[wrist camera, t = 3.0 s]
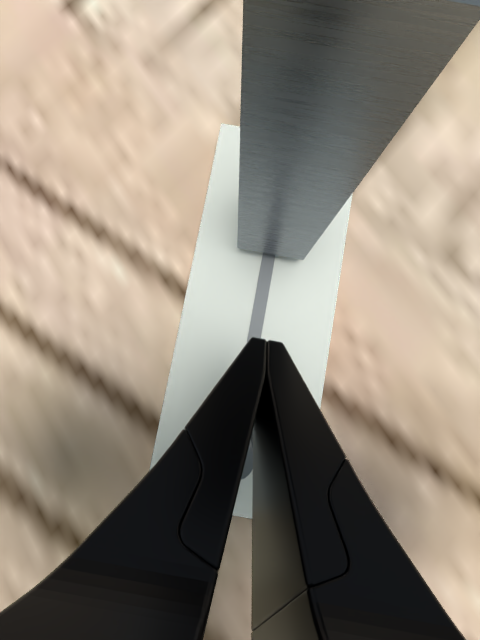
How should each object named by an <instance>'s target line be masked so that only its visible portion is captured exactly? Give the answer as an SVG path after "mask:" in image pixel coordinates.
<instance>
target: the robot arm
mask: <svg viewBox="0 0 480 640" xmlns="http://www.w3.org/2000/svg"><path fill="white" fill-rule="evenodd" d="M252 432H253V489H252V631H253V632H252V633H251V640H466V639H465V637H464V636H463V635H462V634H461V632H460V631H459V630H458V628H457V627H456V626H455V624H454V623H453V622H452V620H451V619H450V617H449V616H448V614H447V613H446V612H445V610H444V609H443V607H442V606H441V604H440V603H439V601H438V600H437V598H436V597H435V595H434V594H433V592H432V591H431V589H430V588H429V586H428V585H427V584H426V582H425V581H424V579H423V578H422V576H421V575H420V573H419V572H418V570H417V569H416V567H415V566H414V564H413V563H412V561H411V560H410V558H409V557H408V555H407V554H406V552H405V551H404V549H403V548H402V547H401V545H400V544H399V542H398V541H397V539H396V538H395V536H394V535H393V533H392V532H391V530H390V529H389V527H388V526H387V524H386V522H385V521H384V519H383V518H382V516H381V515H380V513H379V512H378V510H377V509H376V507H375V505H374V504H373V502H372V501H371V499H370V497H369V496H368V494H367V492H366V490H365V489H364V487H363V485H362V484H361V482H360V480H359V479H358V477H357V475H356V473H355V471H354V470H353V468H352V466H351V464H350V462H349V461H348V460H347V459H345V458H346V455H345V454H344V452H343V450H342V448H341V446H340V445H339V443H338V441H337V439H336V437H335V436H334V434H333V432H332V430H331V428H330V427H329V425H328V423H327V421H326V419H325V418H324V416H323V414H322V412H321V410H320V409H319V407H318V405H317V403H316V401H315V400H314V398H313V396H312V394H311V392H310V391H309V389H308V387H307V385H306V383H305V382H304V380H303V378H302V376H301V374H300V373H299V371H298V369H297V367H296V365H295V364H294V362H293V360H292V358H291V356H290V355H289V353H288V351H287V349H286V347H285V345H284V344H283V343H282V342H278V341H273V340H268V341H266V340H265V339H262V338H257V337H251V338H250V339H249V341H248V342H247V343H246V345H245V346H244V347H243V349H242V350H241V351H240V353H239V354H238V356H237V357H236V358H235V360H234V361H233V362H232V364H231V365H230V366H229V368H228V369H227V370H226V372H225V373H224V374H223V376H222V377H221V378H220V380H219V381H218V383H217V384H216V385H215V387H214V388H213V389H212V391H211V392H210V393H209V395H208V396H207V397H206V399H205V400H204V401H203V403H202V404H201V405H200V407H199V408H198V410H197V411H196V412H195V414H194V415H193V416H192V418H191V419H190V420H189V422H188V423H187V424H186V426H185V429H183V430H182V431H181V432H180V433H179V435H178V436H177V438H176V439H175V440H174V442H173V443H172V444H171V445H170V447H169V448H168V449H167V450H166V452H165V453H164V454H163V455H162V457H161V458H160V459H159V461H158V462H157V463H156V464H155V465H154V466H153V468H152V469H151V470H150V471H149V472H148V473H147V474H146V475H145V476H144V478H143V479H142V480H141V481H140V482H139V483H138V484H137V485H136V486H135V488H134V489H133V490H132V491H131V492H130V493H129V494H128V495H127V496H126V497H125V498H124V499H123V500H122V501H121V502H120V503H119V504H118V505H117V507H116V508H115V509H114V510H113V511H112V512H111V513H110V514H109V515H108V516H107V517H106V518H105V519H104V520H103V521H102V522H101V523H100V525H99V526H98V527H97V528H96V529H95V530H94V531H93V532H92V533H91V534H90V535H89V536H88V537H87V538H86V539H85V540H84V541H83V542H82V544H81V545H80V546H79V547H78V548H77V549H76V550H75V551H74V552H73V553H72V554H71V555H70V556H69V557H68V558H67V559H66V560H64V561H63V562H62V563H61V564H60V565H59V566H58V567H57V568H56V569H55V570H54V571H53V572H51V573H50V574H49V575H48V576H47V577H46V578H45V579H44V580H42V581H41V582H40V583H39V584H37V585H36V586H35V587H34V588H33V589H31V590H30V591H29V592H27V593H26V594H25V595H23V596H22V597H21V598H19V599H18V600H16V601H15V602H14V603H12V604H11V605H10V606H8V607H7V608H6V609H4V610H3V611H1V612H0V640H203V637H204V633H205V628H206V624H207V619H208V615H209V611H210V606H211V602H212V598H213V593H214V589H215V585H216V581H217V577H218V571H219V568H220V564H221V560H222V556H223V552H224V548H225V543H226V539H227V535H228V531H229V527H230V523H231V519H232V514H233V510H234V506H235V502H236V498H237V494H238V490H239V485H240V481H241V477H242V473H243V469H244V465H245V461H246V456H247V452H248V448H249V444H250V440H251V436H252Z"/></svg>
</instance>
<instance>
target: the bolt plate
mask: <svg viewBox="0 0 480 640" xmlns="http://www.w3.org/2000/svg"><path fill="white" fill-rule="evenodd" d="M239 156H240V127H239V126H233V125H228V124H222V123H221V128H220V132H219V137H218V142H217V147H216V152H215V157H214V161H213V166H212V171H211V176H210V181H209V185H208V190H207V195H206V200H205V205H204V209H203V214H202V219H201V224H200V229H199V234H198V238H197V243H196V248H195V253H194V258H193V262H192V267H191V272H190V277H189V282H188V287H187V291H186V296H185V301H184V306H183V311H182V315H181V320H180V325H179V330H178V335H177V340H176V344H175V349H174V354H173V359H172V364H171V368H170V373H169V378H168V383H167V388H166V393H165V397H164V402H163V407H162V412H161V417H160V421H159V426H158V431H157V436H156V441H155V446H154V450H153V455H152V460H151V465H150V470H151V469H152V468H153V466H154V465H155V464H156V463H157V462H158V461H159V459H160V458H161V457H162V455H163V454H164V453H165V452H166V450H167V449H168V448H169V447H170V445H171V444H172V443H173V442H174V440H175V439H176V438H177V436H178V435H179V433H180V432H181V431H182V430H183V429H185V426H186V424H187V423H188V422H189V420H190V419H191V418H192V416H193V415H194V414H195V412H196V411H197V410H198V408H199V407H200V405H201V404H202V403H203V401H204V400H205V399H206V397H207V396H208V395H209V393H210V392H211V391H212V389H213V388H214V387H215V385H216V384H217V383H218V381H219V380H220V378H221V377H222V376H223V374H224V373H225V372H226V370H227V369H228V368H229V366H230V365H231V364H232V362H233V361H234V360H235V358H236V357H237V356H238V354H239V353H240V351H241V350H242V349H243V347H244V346H245V345H246V343H247V342H248V341H249V339H250V338H251V337H257V338H262V339H265V340H266V341H268V340H273V341H278V342H282V343H283V344H284V345H285V347H286V349H287V351H288V353H289V355H290V356H291V358H292V360H293V362H294V364H295V365H296V367H297V369H298V371H299V373H300V374H301V376H302V378H303V380H304V382H305V383H306V385H307V387H308V389H309V391H310V392H311V394H312V396H313V398H314V400H315V401H316V403H317V405H318V407H319V409H320V406H321V399H322V393H323V386H324V379H325V373H326V366H327V359H328V353H329V346H330V339H331V333H332V326H333V319H334V313H335V306H336V299H337V293H338V286H339V280H340V273H341V266H342V260H343V253H344V246H345V240H346V233H347V226H348V220H349V213H350V206H351V200H352V194H351V196H350V197H349V198H348V200H347V201H346V203H345V204H344V205H343V207H342V208H341V209H340V211H339V212H338V213H337V215H336V216H335V218H334V219H333V220H332V222H331V223H330V224H329V226H328V227H327V228H326V230H325V231H324V233H323V234H322V235H321V237H320V238H319V239H318V241H317V242H316V243H315V245H314V246H313V248H312V249H311V250H310V252H309V253H308V254H307V256H306V257H305V258H304V260H300V259H294V258H289V257H283V256H278V255H273V254H267V253H262V252H256V251H251V250H246V249H240V248H237V236H238V196H239ZM150 470H149V471H150ZM252 489H253V432H252V436H251V440H250V444H249V448H248V452H247V456H246V461H245V465H244V469H243V473H242V477H241V481H240V485H239V490H238V494H237V498H236V502H235V506H234V510H233V514H232V515H234V516H239V517H245V518H250V519H252Z"/></svg>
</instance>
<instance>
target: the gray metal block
mask: <svg viewBox="0 0 480 640" xmlns="http://www.w3.org/2000/svg"><path fill="white" fill-rule="evenodd" d="M479 20H480V0H243V37H242V77H241V116H240V156H239V196H238V236H237V248H240V249H246V250H251V251H256V252H262V253H267V254H273V255H278V256H283V257H289V258H294V259H300V260H304V258H305V257H306V256H307V254H308V253H309V252H310V250H311V249H312V248H313V246H314V245H315V243H316V242H317V241H318V239H319V238H320V237H321V235H322V234H323V233H324V231H325V230H326V228H327V227H328V226H329V224H330V223H331V222H332V220H333V219H334V218H335V216H336V215H337V213H338V212H339V211H340V209H341V208H342V207H343V205H344V204H345V203H346V201H347V200H348V198H349V197H350V196H351V194H352V193H353V192H354V190H355V189H356V188H357V186H358V185H359V183H360V182H361V181H362V179H363V178H364V177H365V175H366V174H367V173H368V171H369V170H370V168H371V167H372V166H373V164H374V163H375V162H376V160H377V159H378V158H379V156H380V155H381V153H382V152H383V151H384V149H385V148H386V147H387V145H388V144H389V143H390V141H391V140H392V138H393V137H394V136H395V134H396V133H397V132H398V130H399V129H400V128H401V126H402V125H403V123H404V122H405V121H406V119H407V118H408V117H409V115H410V114H411V113H412V111H413V110H414V108H415V107H416V106H417V104H418V103H419V102H420V100H421V99H422V98H423V96H424V95H425V93H426V92H427V91H428V89H429V88H430V87H431V85H432V84H433V83H434V81H435V80H436V78H437V77H438V76H439V74H440V73H441V72H442V70H443V69H444V68H445V66H446V65H447V63H448V62H449V61H450V59H451V58H452V57H453V55H454V54H455V53H456V51H457V50H458V48H459V47H460V46H461V44H462V43H463V42H464V40H465V39H466V38H467V36H468V35H469V33H470V32H471V31H472V29H473V28H474V27H475V25H476V24H477V22H478V21H479Z"/></svg>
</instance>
